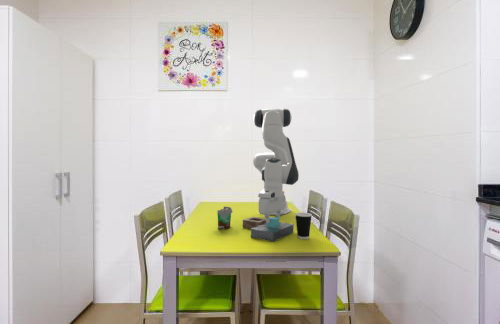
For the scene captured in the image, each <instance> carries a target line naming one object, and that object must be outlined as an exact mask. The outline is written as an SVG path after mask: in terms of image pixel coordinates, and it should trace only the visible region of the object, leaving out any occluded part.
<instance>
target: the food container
mask: <svg viewBox="0 0 500 324" xmlns="http://www.w3.org/2000/svg"><path fill="white" fill-rule="evenodd" d="M216 213H217V230H228V229H230V228H231V221H232V213H233V208H232V207H230V206H223V208H221V209H219V210H217V211H216Z"/></svg>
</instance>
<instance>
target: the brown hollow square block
mask: <svg viewBox="0 0 500 324" xmlns="http://www.w3.org/2000/svg"><path fill="white" fill-rule="evenodd" d="M263 224H266V218H265V217H264V218H263V217H258V216H250V217H248V218H245V219H242V228H243V229H249V230H251V229H252V228H255V227H257V226H260V225H263Z"/></svg>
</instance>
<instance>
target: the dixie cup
mask: <svg viewBox="0 0 500 324" xmlns="http://www.w3.org/2000/svg"><path fill="white" fill-rule="evenodd" d="M294 215H295V224H296V233H297V238H298V239H301V240H308V239H309V236H310V233H311V232H310V230H311V223H312V216H313V213H309V212H296V213H295V214H294Z"/></svg>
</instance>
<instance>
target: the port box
mask: <svg viewBox="0 0 500 324" xmlns="http://www.w3.org/2000/svg"><path fill="white" fill-rule="evenodd" d="M294 227H295V226H294V223H287V222H281V221H279V227H278V228H272V227H267V223H266V224H263V225H260V226H257V227H255V228H252V229H250V238H252V237H253V238H252V239H258V240H263V241H268V242H275V241H278V240H280V239H282V238H285V237H286V236H289V235H290V234H293V233H294V229H295V228H294Z"/></svg>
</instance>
